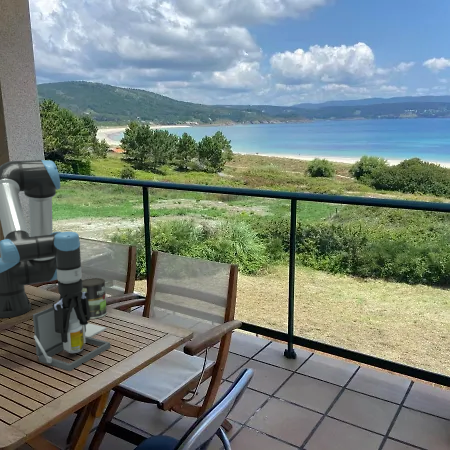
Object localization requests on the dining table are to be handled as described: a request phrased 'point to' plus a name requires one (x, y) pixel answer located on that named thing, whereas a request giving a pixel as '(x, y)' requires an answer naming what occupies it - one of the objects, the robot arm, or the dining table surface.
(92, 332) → the pad
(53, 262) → the robot arm
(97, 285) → the coffee can
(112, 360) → the dining table surface
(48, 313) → the case
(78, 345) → the supplement bottle
